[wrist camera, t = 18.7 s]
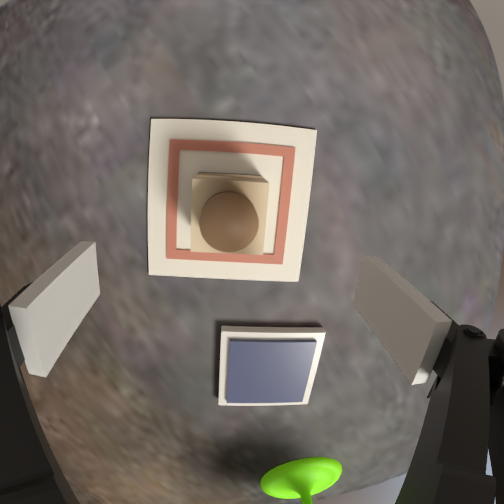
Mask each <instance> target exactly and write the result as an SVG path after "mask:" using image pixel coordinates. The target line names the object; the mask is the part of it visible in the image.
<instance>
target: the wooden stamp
mask: <svg viewBox="0 0 504 504" xmlns="http://www.w3.org/2000/svg"><path fill="white" fill-rule="evenodd" d="M268 194H269V182H268V181H267V180H266V179H265V178H264V177H263V176H261V175H252V174H236V173H218V172H198V173H197V174H196V175H195V177H194V178H193V182H192V207H191V244H190V252H207V253H228V254H250V255H263V248H264V238H265V227H266V216H267V205H268Z"/></svg>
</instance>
